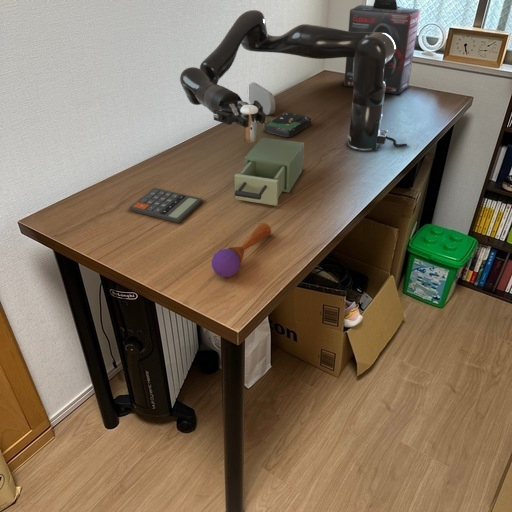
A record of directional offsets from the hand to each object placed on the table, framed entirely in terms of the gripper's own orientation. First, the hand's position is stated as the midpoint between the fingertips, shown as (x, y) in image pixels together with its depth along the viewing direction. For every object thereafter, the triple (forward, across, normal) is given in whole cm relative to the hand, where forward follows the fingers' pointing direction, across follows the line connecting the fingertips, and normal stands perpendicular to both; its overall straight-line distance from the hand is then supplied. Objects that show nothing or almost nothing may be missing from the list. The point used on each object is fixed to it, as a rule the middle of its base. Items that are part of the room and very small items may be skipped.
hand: (255, 121), depth 122 cm
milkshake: (-3, 0, +6) cm, 7 cm away
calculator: (-6, -24, +20) cm, 32 cm away
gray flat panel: (-53, +36, +20) cm, 67 cm away
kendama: (+24, -19, +20) cm, 36 cm away
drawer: (+4, -2, +19) cm, 19 cm away
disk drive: (-32, +33, +20) cm, 50 cm away
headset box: (-49, +90, +20) cm, 104 cm away
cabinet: (-4, +8, +20) cm, 22 cm away
